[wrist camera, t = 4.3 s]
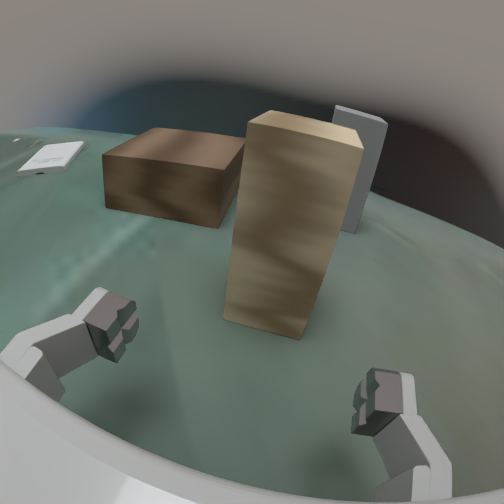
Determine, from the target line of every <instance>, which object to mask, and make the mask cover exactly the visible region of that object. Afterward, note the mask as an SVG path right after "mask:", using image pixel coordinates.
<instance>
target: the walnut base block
mask: <svg viewBox="0 0 504 504" xmlns="http://www.w3.org/2000/svg"><path fill="white" fill-rule="evenodd" d="M245 140H246V139H245V138H239V137H232V136H225V135H218V134H211V133H203V132H194V131H186V130H176V129H165V128H153V129H151V130H149V131H147V132H145V133H143V134H141V135H138V136H136V137H134V138H132V139H130V140H128V141H126V142H124V143H123V144H121V145H119V146H117V147H115V148H113V149H111V150H109V151H107V152H106V153H104V154H102V163H103V180H104V193H105V205H106V208H109V209H114V210H120V211H125V212H131V213H136V214H142V215H147V216H153V217H158V218H163V219H169V220H174V221H179V222H184V223H190V224H195V225H200V226H205V227H210V228H216V229H218V228H219V226H220V224H221V222H222V220H223V218H224V216H225V214H226V212H227V210H228V208H229V206H230V204H231V202H232V200H233V198H234V196H235V194H236V192H237V190H238V188H239V184H240V176H241V169H242V162H243V155H244V147H245Z"/></svg>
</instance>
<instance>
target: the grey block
mask: <svg viewBox="0 0 504 504" xmlns="http://www.w3.org/2000/svg"><path fill="white" fill-rule="evenodd" d="M332 124H335V125H339V126H343V127H346V128H350V129H353V130H356V132H357V134H358V136H359V139H360V141H361V143H362V145H363V148H364V151H363V154H362V158H361V162H360V165H359V169H358V172H357V176H356V179H355V183H354V186H353V190H352V193H351V196H350V200H349V203H348V206H347V209H346V213H345V216H344V219H343V222H342V225H341V228H340V230H343V231H347V232H350V233H354V234H355V231H356V229H357V226H358V223H359V220H360V217H361V214H362V211H363V208H364V205H365V202H366V199H367V196H368V193H369V190H370V186H371V183H372V180H373V177H374V173H375V170H376V167H377V163H378V160H379V156H380V153H381V149H382V146H383V142H384V138H385V135H386V131H387V127H388V124H387V123H386V122H385V121H384V120H383V119H381V118H379V117H376V116H373V115H369V114H367V113H363V112H360V111H356V110H353V109H349V108H345V107H342V106H338V105H336V107H335V111H334V116H333V120H332Z"/></svg>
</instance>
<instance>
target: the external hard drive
mask: <svg viewBox="0 0 504 504" xmlns="http://www.w3.org/2000/svg"><path fill="white" fill-rule="evenodd" d="M83 148H84V142H82V141H79V142H69V143H60V144H52V145H46V146H44V147H43V148H42V149H41V150H39V151H38V152H37V153H36V154H35V155H34V156H33V157H32V158H31V159H30V160H29V161H28V162H27V163H26V164H25V165H23V166H22V167H21V168H20V169H19V170H18V171H17V177H21V176H29V175H36V174H42V173H44V174H46V173H56V172H65V170H66V169H67V168H68V166H69V165H70V164H71V163H72V161H73V160H74V159H75V157H76V156H77V155H78V154H79V153H80V151H81V150H82V149H83Z"/></svg>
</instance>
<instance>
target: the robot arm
mask: <svg viewBox="0 0 504 504" xmlns="http://www.w3.org/2000/svg"><path fill="white" fill-rule="evenodd" d="M136 309H137V308H136V303H135V301H132V300H130V299H127V298H125V297H122V296H120V295H118V294H115V293H113V292H111V291H108V290H106V289H103V288H101V287H98V288H96V289H94V290H93V292H92V293H91V294H90V295H89V296H88V297H87V298H86V299H85V300H84V301H83V303H82V304H81V305H80V306H79V307H78V308H77V309H76V310H75V311H74V313H73V314H72V315H70V314H67V315H64V316H61V317H59V318H56V319H53V320H51V321H48V322H46V323H43V324H40V325H38V326H35V327H33V328H30V329H27V330H25V331H22V332H20V333H18V334H17V335H16V336H15V337H14V338H13V339H12V340H11V342H10V343H9V344H8V345H7V346H6V347H5V349H4V350H3V351H2V352H1V353H0V504H504V488H501V489H497V490H492V491H488V492H483V493H478V494H472V495H467V496H460V497H453V498H452V464H451V462H450V461H449V459H448V457H447V456H446V454H445V453H444V451H443V449H442V448H441V446H440V445H439V443H438V442H437V440H436V439H435V437H434V435H433V434H432V432H431V431H430V429H429V428H428V426H427V425H426V423H425V422H424V420H423V419H422V417H421V416H417V406H416V395H415V385H414V377H413V375H412V374H406V373H400V372H396V371H390V370H384V369H378V368H371V369H370V370H369V371H368V372H367V379H364V380H362V381H361V382H360V383H359V385H358V386H357V389H356V391H355V394H354V400H353V406H354V408H355V410H356V411H357V412H356V413H355V414H354V415H353V416H352V427H351V433H352V434H358V435H365V436H372V437H373V440H374V442H375V444H376V447H377V449H378V451H379V453H380V456H381V458H382V460H383V462H384V465H385V467H386V469H387V472H388V474H389V476H390V479H391V480H389V481H387V482H385V483H383V484H381V485H379V486H378V487H377V488H376V496H375V502H359V501H343V500H331V499H322V498H314V497H306V496H300V495H293V494H287V493H282V492H277V491H272V490H267V489H262V488H258V487H253V486H249V485H245V484H241V483H237V482H234V481H230V480H226V479H223V478H220V477H216V476H213V475H210V474H207V473H204V472H201V471H198V470H195V469H192V468H189V467H186V466H183V465H181V464H178V463H175V462H173V461H170V460H168V459H165V458H163V457H160V456H158V455H155V454H153V453H151V452H148V451H146V450H144V449H142V448H139V447H137V446H135V445H133V444H131V443H129V442H127V441H125V440H123V439H121V438H119V437H117V436H115V435H113V434H111V433H109V432H107V431H105V430H103V429H101V428H99V427H98V426H96V425H94V424H92V423H91V422H89V421H87V420H85V419H84V418H82V417H80V416H79V415H77V414H75V413H74V412H72V411H70V410H69V409H67V408H66V407H64V406H62V405H61V404H59V403H58V402H59V400H60V399H61V397H62V396H63V394H64V392H65V387H64V386H63V384H62V383H61V381H60V380H59V378H60V377H62V376H64V375H66V374H67V373H69V372H71V371H73V370H75V369H76V368H78V367H80V366H82V365H83V364H85V363H87V362H89V361H91V360H92V359H94V358H96V357H98V355H99V356H101V357H103V358H106V359H108V360H110V361H112V362H115V363H118V361H119V360H120V358H121V357H122V355H123V354H124V353H125V351H126V346H125V344H127V343H129V342H132V341H133V339H134V337H135V336H136V334H137V331H138V328H139V319H138V317H137V315H136V314H135V313H134V311H135V310H136Z"/></svg>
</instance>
